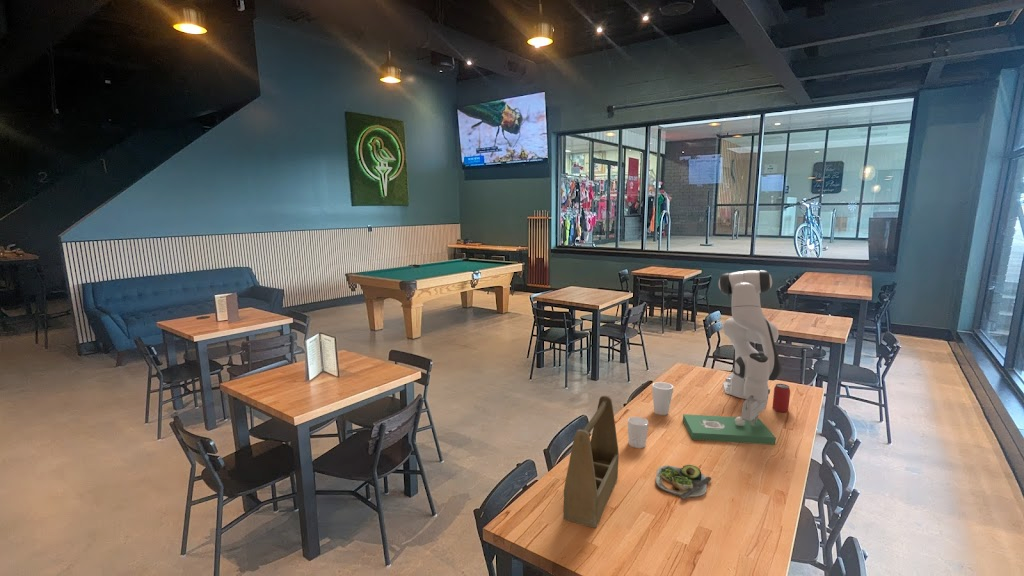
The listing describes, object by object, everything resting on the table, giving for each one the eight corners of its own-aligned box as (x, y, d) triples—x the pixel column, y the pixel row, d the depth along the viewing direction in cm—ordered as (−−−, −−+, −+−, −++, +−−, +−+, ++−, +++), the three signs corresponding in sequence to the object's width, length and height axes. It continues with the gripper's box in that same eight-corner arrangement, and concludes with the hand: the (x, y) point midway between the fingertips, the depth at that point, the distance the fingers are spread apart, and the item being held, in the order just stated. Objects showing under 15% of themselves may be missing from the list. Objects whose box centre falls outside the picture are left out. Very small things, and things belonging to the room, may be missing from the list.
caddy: (596, 529, 139) (599, 434, 135) (562, 519, 144) (563, 427, 139) (618, 479, 166) (621, 397, 161) (588, 472, 170) (590, 392, 165)
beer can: (787, 414, 218) (789, 389, 216) (771, 410, 222) (773, 386, 220) (789, 409, 224) (791, 385, 222) (773, 406, 227) (775, 382, 226)
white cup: (624, 446, 189) (625, 422, 187) (629, 437, 196) (630, 415, 194) (644, 450, 185) (646, 426, 183) (649, 442, 192) (650, 419, 190)
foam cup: (669, 408, 225) (670, 382, 223) (674, 416, 216) (675, 389, 214) (649, 407, 226) (650, 381, 224) (652, 415, 217) (654, 388, 214)
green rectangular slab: (682, 420, 212) (683, 414, 211) (758, 424, 207) (759, 418, 207) (692, 439, 194) (692, 432, 194) (775, 444, 190) (776, 437, 189)
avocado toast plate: (709, 509, 149) (710, 496, 148) (651, 495, 157) (651, 482, 156) (711, 478, 167) (712, 466, 166) (658, 467, 174) (659, 455, 173)
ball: (733, 423, 202) (733, 414, 201) (742, 424, 201) (743, 415, 201) (736, 427, 198) (736, 418, 197) (746, 428, 197) (747, 419, 197)
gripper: (755, 402, 187) (752, 434, 189) (771, 388, 201) (768, 419, 204) (738, 397, 191) (735, 429, 194) (755, 384, 206) (753, 414, 208)
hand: (752, 424), depth 199 cm, fingers closed
